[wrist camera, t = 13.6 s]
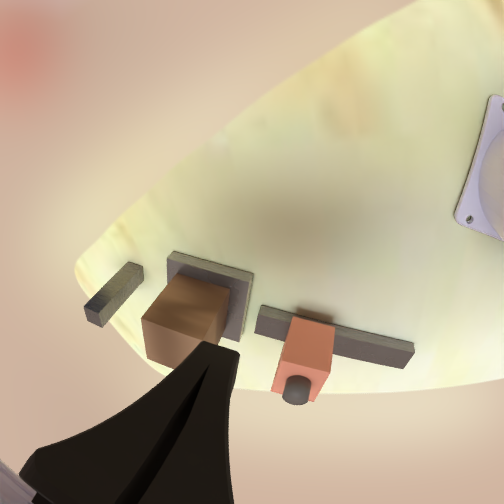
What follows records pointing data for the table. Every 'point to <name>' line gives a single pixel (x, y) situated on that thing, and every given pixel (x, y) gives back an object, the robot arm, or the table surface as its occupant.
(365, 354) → the rail
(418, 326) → the table surface
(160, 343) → the block
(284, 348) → the lever handle
